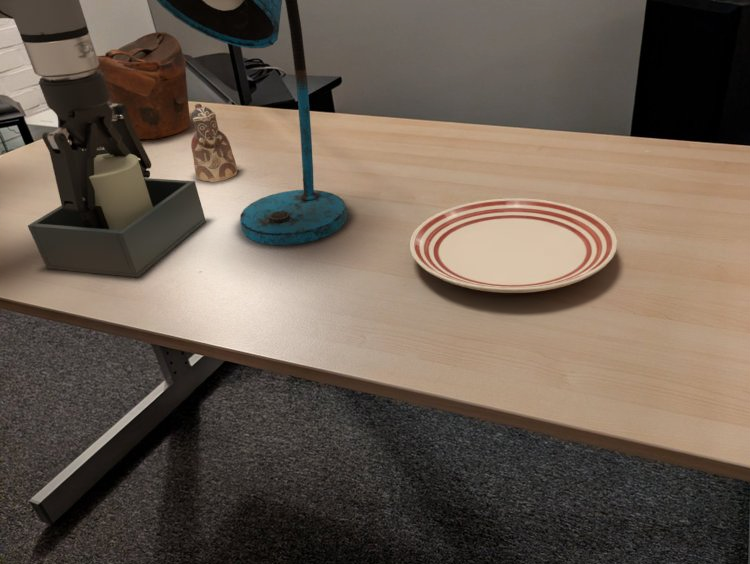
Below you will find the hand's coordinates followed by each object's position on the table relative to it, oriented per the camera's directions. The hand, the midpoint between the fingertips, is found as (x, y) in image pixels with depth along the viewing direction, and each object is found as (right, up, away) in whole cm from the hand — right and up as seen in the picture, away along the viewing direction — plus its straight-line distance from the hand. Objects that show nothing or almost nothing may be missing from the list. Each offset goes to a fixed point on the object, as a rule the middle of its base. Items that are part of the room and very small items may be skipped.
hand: (127, 234), depth 95 cm
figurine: (+5, +14, +22) cm, 27 cm away
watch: (-23, +21, +33) cm, 45 cm away
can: (0, -1, +1) cm, 1 cm away
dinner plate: (+56, -4, -7) cm, 56 cm away
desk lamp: (+23, +2, +4) cm, 23 cm away
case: (-15, +29, +44) cm, 55 cm away
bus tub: (0, -1, +1) cm, 2 cm away
